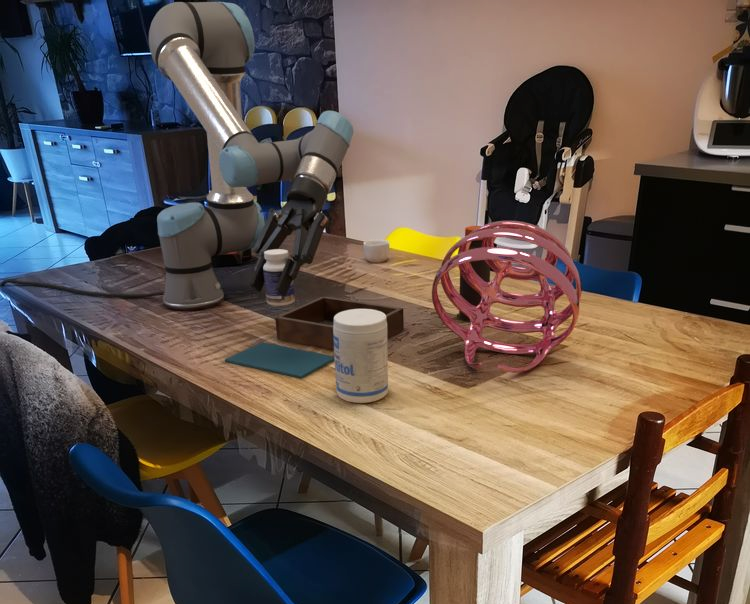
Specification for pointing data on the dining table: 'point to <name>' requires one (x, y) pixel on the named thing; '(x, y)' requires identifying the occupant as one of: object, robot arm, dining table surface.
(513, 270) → the spiral basket
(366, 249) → the teacup
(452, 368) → the dining table surface
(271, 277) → the pill bottle
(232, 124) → the robot arm
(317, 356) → the mat
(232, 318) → the dining table surface
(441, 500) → the dining table surface
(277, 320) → the wooden tray
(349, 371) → the supplement tub
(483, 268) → the vinegar
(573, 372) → the dining table surface
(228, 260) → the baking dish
